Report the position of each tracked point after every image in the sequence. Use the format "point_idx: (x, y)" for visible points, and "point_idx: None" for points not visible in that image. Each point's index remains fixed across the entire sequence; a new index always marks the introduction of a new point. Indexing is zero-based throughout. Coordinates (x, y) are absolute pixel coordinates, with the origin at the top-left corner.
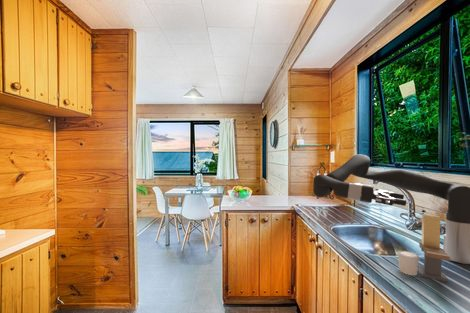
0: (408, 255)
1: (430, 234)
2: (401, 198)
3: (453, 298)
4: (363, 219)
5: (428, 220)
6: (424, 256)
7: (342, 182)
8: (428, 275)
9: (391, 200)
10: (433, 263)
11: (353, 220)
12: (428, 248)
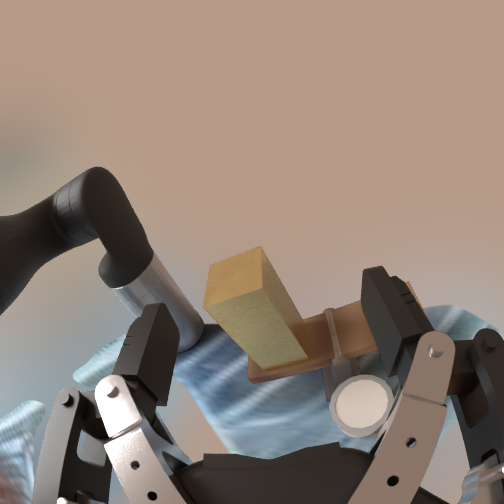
0: (375, 400)
1: (293, 319)
2: (175, 338)
3: (432, 321)
4: (5, 457)
5: (272, 290)
6: (336, 367)
7: None
8: (360, 373)
9: (497, 345)
10: None
11: (13, 483)
12: (345, 340)
